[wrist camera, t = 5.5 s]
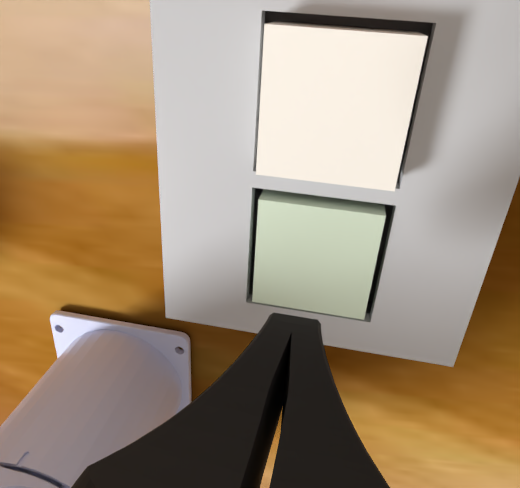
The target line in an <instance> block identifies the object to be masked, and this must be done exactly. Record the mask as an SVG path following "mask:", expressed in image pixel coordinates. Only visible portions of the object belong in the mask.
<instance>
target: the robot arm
mask: <svg viewBox="0 0 520 488" xmlns="http://www.w3.org/2000/svg"><path fill="white" fill-rule="evenodd" d="M50 322H51V327H52V332H53V337H54V342H55V347H56V352H57V357H58V359H57V360H56V361H55V363H54V364H53V365H52V366H51V367H50V368H49V370H48V371H47V372H46V373H45V374H44V376H43V377H42V378H41V379H40V380H39V381H38V383H37V384H36V385H35V386H34V387H33V389H32V390H31V391H30V392H29V393H28V394H27V396H26V397H25V398H24V399H23V400H22V402H21V403H20V404H19V405H18V406H17V407H16V409H15V410H14V411H13V412H12V413H11V415H10V416H9V417H8V418H7V419H6V420H5V422H4V423H3V424H2V425H1V426H0V488H260V484H261V480H262V476H263V473H264V469H265V466H266V462H267V459H268V455H269V452H270V448H271V445H272V441H273V438H274V434H275V431H276V427H277V424H278V420H279V417H280V413H281V410H282V406H283V410H282V422H281V434H280V439H279V444H278V449H277V454H276V459H275V464H274V469H273V474H272V479H271V483H270V488H390V487H389V486H388V484H387V483H386V481H385V479H384V478H383V476H382V475H381V473H380V471H379V470H378V468H377V467H376V465H375V464H374V462H373V460H372V459H371V457H370V456H369V454H368V452H367V451H366V449H365V447H364V445H363V443H362V442H361V440H360V438H359V436H358V434H357V432H356V430H355V428H354V426H353V424H352V422H351V420H350V418H349V416H348V414H347V412H346V410H345V407H344V405H343V403H342V400H341V398H340V395H339V393H338V390H337V388H336V385H335V382H334V379H333V376H332V373H331V370H330V367H329V364H328V361H327V357H326V353H325V349H324V345H323V340H322V333H321V323H320V322H319V321H318V320H317V319H310V318H304V317H298V316H292V315H286V314H280V313H272V314H271V315H269V317H268V319H267V321H266V322H265V324H264V325H263V327H262V328H261V330H260V331H259V332H258V334H257V335H256V336H255V338H254V339H253V340H252V342H251V343H250V344H249V345H248V347H247V348H246V349H245V350H244V351H243V353H242V354H241V355H240V356H239V357H238V358H237V360H236V361H235V362H234V363H233V364H232V365H231V366H230V367H229V368H228V369H227V370H226V371H225V372H224V373H223V374H222V375H221V376H220V377H219V378H218V379H217V380H216V381H215V382H214V383H213V384H212V385H211V386H210V387H209V388H208V389H206V390H205V391H204V392H203V393H202V394H201V395H199V396H198V397H197V398H196V399H195V400H194V401H191V347H190V338H189V336H188V335H187V334H185V333H183V332H179V331H174V330H168V329H162V328H157V327H151V326H145V325H139V324H134V323H128V322H122V321H117V320H111V319H105V318H99V317H94V316H88V315H82V314H77V313H71V312H65V311H55V312H54V313H53V314H52V315H51V316H50ZM62 327H63V328H62ZM179 347H181V348H183V349H180V348H179Z"/></svg>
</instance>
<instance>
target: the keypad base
mask: <svg viewBox="0 0 520 488" xmlns="http://www.w3.org/2000/svg"><path fill="white" fill-rule="evenodd" d="M150 15H151V34H152V54H153V74H154V94H155V114H156V134H157V154H158V174H159V193H160V213H161V233H162V253H163V273H164V293H165V313H166V318H170V319H176V320H182V321H188V322H193V323H199V324H205V325H211V326H217V327H223V328H228V329H234V330H240V331H246V332H252V333H258V332H259V331H260V330H261V328H262V327H263V325H264V324H265V322H266V321H267V319H268V317H269V315H271V314H272V313H280V314H286V315H292V316H298V317H304V318H310V319H317V320H318V321H319V322H320V323H321V333H322V340H323V345H328V346H333V347H339V348H345V349H351V350H357V351H363V352H368V353H374V354H380V355H386V356H392V357H398V358H403V359H409V360H415V361H421V362H427V363H433V364H438V365H444V366H450V367H453V366H454V363H455V360H456V358H457V355H458V352H459V349H460V346H461V343H462V340H463V338H464V335H465V332H466V329H467V326H468V323H469V320H470V318H471V315H472V312H473V309H474V306H475V303H476V300H477V298H478V295H479V292H480V289H481V286H482V283H483V280H484V277H485V275H486V272H487V269H488V266H489V263H490V260H491V257H492V255H493V252H494V249H495V246H496V243H497V240H498V237H499V235H500V232H501V229H502V226H503V223H504V220H505V217H506V215H507V212H508V209H509V206H510V203H511V200H512V197H513V194H514V192H515V189H516V186H517V183H518V180H519V177H520V0H150ZM275 21H281V22H295V23H308V24H322V25H335V26H349V27H362V28H376V29H389V30H403V31H416V32H420V33H422V34H424V35H426V36H428V38H427V43H426V48H425V52H424V57H423V62H422V66H421V71H420V76H419V80H418V85H417V90H416V94H415V99H414V104H413V108H412V113H411V118H410V122H409V127H408V132H407V136H406V141H405V146H404V150H403V155H402V160H401V164H400V169H399V174H398V178H397V183H396V188H395V191H387V190H378V189H370V188H362V187H354V186H346V185H337V184H329V183H321V182H313V181H305V180H297V179H288V178H280V177H272V176H264V175H256V162H257V145H258V127H259V110H260V92H261V75H262V57H263V40H264V24H266V23H271V22H275ZM264 189H268V190H276V191H284V192H292V193H300V194H308V195H316V196H324V197H332V198H340V199H348V200H356V201H363V202H371V203H379V204H384V205H385V213H386V218H385V223H384V228H383V232H382V237H381V242H380V247H379V251H378V256H377V261H376V266H375V270H374V275H373V280H372V285H371V289H370V294H369V299H368V304H367V308H366V313H365V318H364V320H362V319H356V318H350V317H344V316H338V315H332V314H325V313H319V312H313V311H307V310H301V309H294V308H288V307H282V306H276V305H270V304H264V303H257V302H252V296H253V279H254V263H255V247H256V231H257V215H258V199H259V197H260V195H261V193H262V192H263V190H264Z"/></svg>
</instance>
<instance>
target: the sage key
mask: <svg viewBox="0 0 520 488" xmlns="http://www.w3.org/2000/svg"><path fill="white" fill-rule="evenodd" d="M385 218H386V213H385V205H384V204H379V203H371V202H363V201H356V200H348V199H340V198H332V197H324V196H316V195H308V194H300V193H292V192H284V191H276V190H268V189H264V190H263V192H262V193H261V195H260V197H259V199H258V215H257V231H256V247H255V263H254V279H253V296H252V302H257V303H264V304H270V305H276V306H282V307H288V308H294V309H301V310H307V311H313V312H319V313H325V314H332V315H338V316H344V317H350V318H356V319H362V320H364V318H365V313H366V308H367V304H368V299H369V294H370V289H371V285H372V280H373V275H374V270H375V266H376V261H377V256H378V251H379V247H380V242H381V237H382V232H383V228H384V223H385Z"/></svg>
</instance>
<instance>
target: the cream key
mask: <svg viewBox="0 0 520 488" xmlns="http://www.w3.org/2000/svg"><path fill="white" fill-rule="evenodd" d="M427 38H428V36H426V35H424V34H422V33H420V32H416V31H403V30H389V29H376V28H362V27H349V26H335V25H322V24H308V23H295V22H281V21H275V22H271V23H266V24H264V40H263V57H262V75H261V92H260V110H259V127H258V145H257V162H256V175H264V176H272V177H280V178H288V179H297V180H305V181H313V182H321V183H329V184H337V185H346V186H354V187H362V188H370V189H378V190H387V191H395V188H396V183H397V178H398V174H399V169H400V164H401V160H402V155H403V150H404V146H405V141H406V136H407V132H408V127H409V122H410V118H411V113H412V108H413V104H414V99H415V94H416V90H417V85H418V80H419V76H420V71H421V66H422V62H423V57H424V52H425V48H426V43H427Z"/></svg>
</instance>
